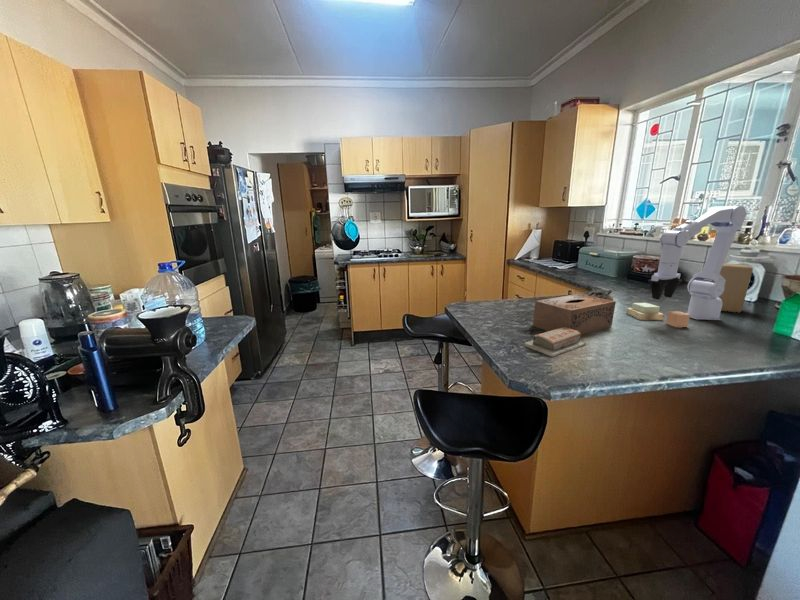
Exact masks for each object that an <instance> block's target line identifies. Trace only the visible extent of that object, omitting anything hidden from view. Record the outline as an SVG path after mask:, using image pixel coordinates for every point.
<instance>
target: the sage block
mask: <svg viewBox="0 0 800 600" xmlns="http://www.w3.org/2000/svg"><path fill="white" fill-rule="evenodd" d="M630 308H631V309H633V310H636V311H639V312H642V313H659V312H660V308H661V307H660V306H658V305H656V304H652V303H648V302H632V303H631V307H630Z"/></svg>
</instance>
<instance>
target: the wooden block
mask: <svg viewBox="0 0 800 600" xmlns="http://www.w3.org/2000/svg"><path fill="white" fill-rule="evenodd" d="M753 270H754V269H753V267H752V266H750V265H747V264H740V263H739V264H738V263H725V262H724V264H723V266H722V269H721V271H720V273H719V274H720V275H721V276H722V277H723V278H724V279H725V280H726V281H725V285H724V292H723V293H722V294H721V295H720V296H719V298H720V299H721V300H722V308H721V312H727V311H728V313H736V312H737V313H741V312H743V311H742V310H743V308H744V307H743V306H744V304H745V300H746V297H747V296H746V295H747V292H748V289H749V284H750V281H751V277H752V275H753V274H752V273H753ZM711 281H714V280H711Z"/></svg>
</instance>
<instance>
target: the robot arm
mask: <svg viewBox="0 0 800 600" xmlns="http://www.w3.org/2000/svg"><path fill="white" fill-rule="evenodd" d="M746 217H747V211H746V208H745V206H744V205H734V206H730V205H728V206H727V205H726V206H722V205H721V206H711V207H709V208H707V209H705V213H704V214H702V215H700V217H698V218H696V219H695V220H689V219H687V220H686V221H684V223H683V224H681V225H679V226H676V227H675V228H674V229H672V230H671V229H670V230H666V231H664V232H663V233H662V234H661V236H660V237H659V244H660V251H661V253H660V257H659V262H658V267H657V268H658V269H657V272H654V273H653V275H651V277H650V278H651V279H648V281H647V282H648V284H649V286H650V290H651V297H652V299H653V300H660V299H661V296H662V293H663V294H664V295H663V296H664V297H665V298H669V299H671V298H672V297H673V295H674V293H675V292H676V289H677V288H678V287H679V286H680V284H682V283H683V279H680V278H681V273H678V269H679V264H680V260H681V255H682V251H683V250H682V249H683V247H684V246H686V245H687V244H688V243H689V241H690V240H691V239H692V238H693V237H695V236H697V235H698V234H700V233H701V232H702V229H703V228H704V227H707V226H709V225H710V227H711V228H712V229H713V230H715V231H716V236H715V238H714V241H713V242H712V245H711V247H710V250H709V254H708V256H707V258H706V260H705V263H704V265H703V267H702V270H701V271H699V272H697V273H694V274H693V275H692V278H691V279H690V280H689V282H688V283H687V285H686V286H687V291H688V292H689V295H691V296H690V300H689V304H688V308H687V312H685V313H686V314H689V315H690V318H691V319H694V320H703V321H706V320H708V321H710V320H711V321H721V320H722V318H720V316H721V312H722V311H721V308H722V300H721V299H720V298H719V296H720V295H721V294H722V293H723V292H724V285H725V281H726V280H725V279H724V278H723V277H722V276H721V275H720V274H719V273H720V271H721V269H722V266H723V264H724V263H725V260H726V258H727V256H728V254H729V251H730V249H731V247H732V244H733V242H734V239H735V237H736V234H737V231H739V230H741V228H742V226H743V224H744V222H745V219H746ZM712 280H714V281H712ZM663 291H664V292H663Z"/></svg>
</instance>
